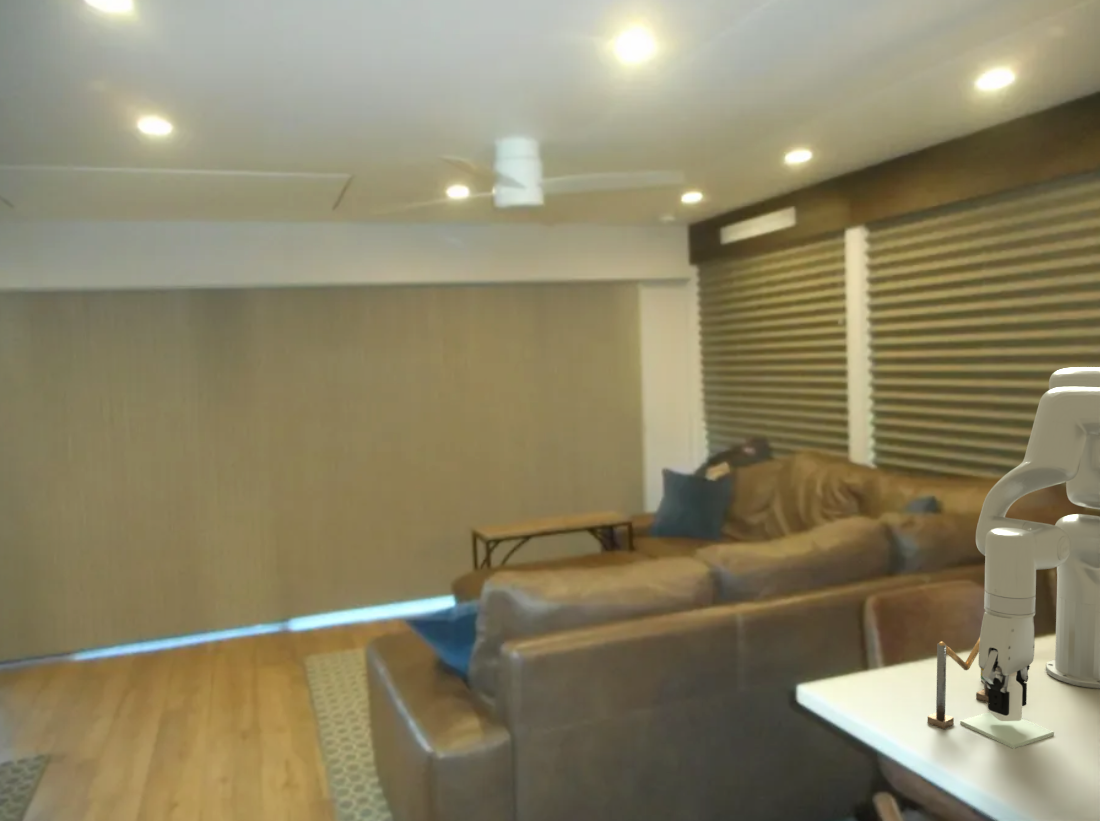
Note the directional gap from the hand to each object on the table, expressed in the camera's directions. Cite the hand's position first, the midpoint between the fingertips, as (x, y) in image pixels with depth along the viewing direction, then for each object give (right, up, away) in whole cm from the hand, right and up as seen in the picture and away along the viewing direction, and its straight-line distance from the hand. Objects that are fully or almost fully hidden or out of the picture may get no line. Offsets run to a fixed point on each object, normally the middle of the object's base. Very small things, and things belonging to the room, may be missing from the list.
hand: (1007, 706), depth 144 cm
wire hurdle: (-3, -3, +7) cm, 9 cm away
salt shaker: (0, -2, 0) cm, 2 cm away
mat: (0, -4, 0) cm, 4 cm away
